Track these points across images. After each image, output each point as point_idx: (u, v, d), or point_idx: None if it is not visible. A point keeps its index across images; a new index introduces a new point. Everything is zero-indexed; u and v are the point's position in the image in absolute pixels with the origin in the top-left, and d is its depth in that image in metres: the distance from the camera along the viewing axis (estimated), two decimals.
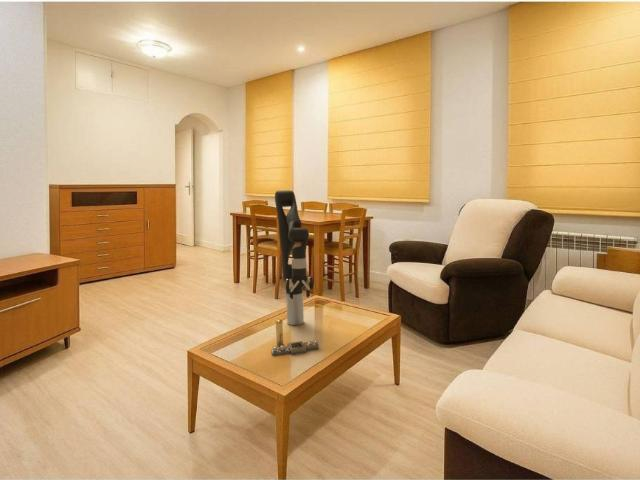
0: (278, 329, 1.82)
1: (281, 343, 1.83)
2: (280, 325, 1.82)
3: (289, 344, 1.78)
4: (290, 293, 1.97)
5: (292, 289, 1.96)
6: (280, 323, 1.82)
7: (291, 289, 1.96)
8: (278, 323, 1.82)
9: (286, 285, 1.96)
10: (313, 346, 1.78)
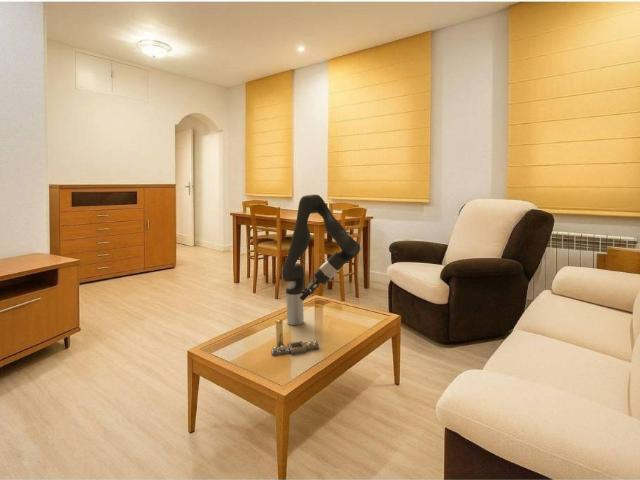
0: (278, 329, 1.82)
1: (281, 343, 1.83)
2: (280, 325, 1.82)
3: (289, 344, 1.78)
4: (306, 296, 1.75)
5: (310, 293, 1.76)
6: (280, 323, 1.82)
7: (310, 293, 1.75)
8: (278, 323, 1.82)
9: (311, 290, 1.73)
10: (313, 346, 1.78)
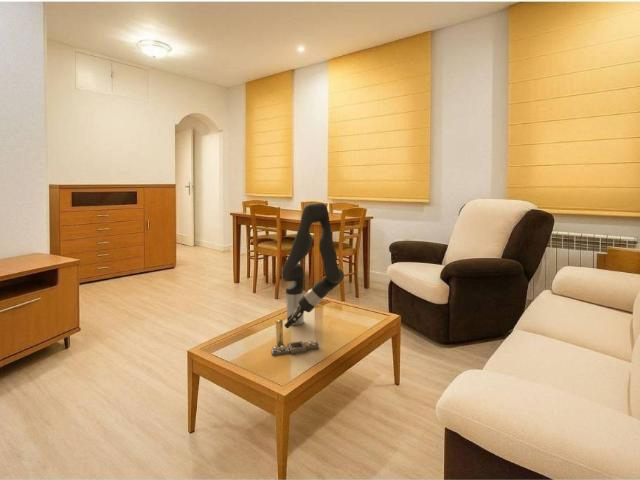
0: (278, 329, 1.82)
1: (281, 343, 1.83)
2: (280, 325, 1.82)
3: (289, 344, 1.78)
4: (291, 324, 1.77)
5: (295, 321, 1.78)
6: (280, 323, 1.82)
7: (295, 321, 1.78)
8: (278, 323, 1.82)
9: (296, 318, 1.75)
10: (313, 346, 1.78)
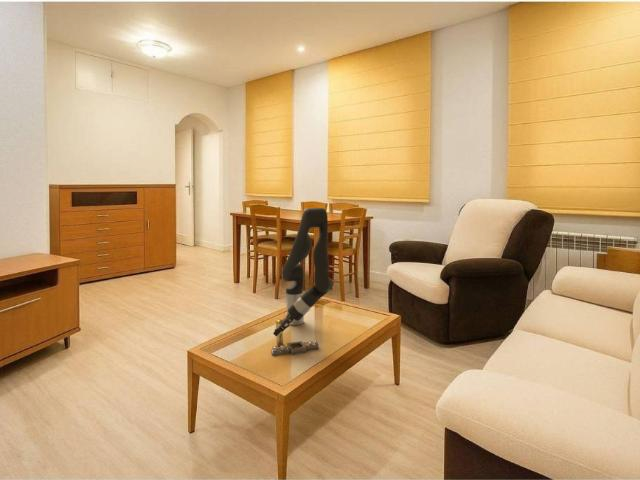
0: None
1: (281, 343, 1.83)
2: None
3: (289, 344, 1.78)
4: (279, 332, 1.81)
5: None
6: (280, 323, 1.82)
7: None
8: (278, 323, 1.81)
9: (283, 328, 1.77)
10: (313, 346, 1.78)
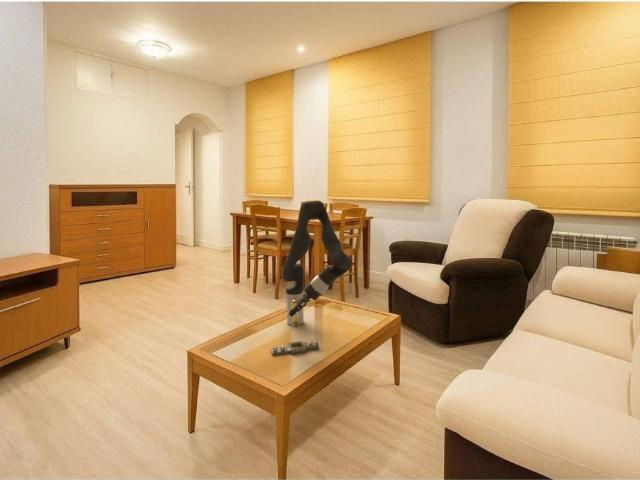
0: None
1: (297, 324, 1.75)
2: None
3: (289, 344, 1.78)
4: (295, 312, 1.72)
5: (300, 309, 1.73)
6: (296, 303, 1.73)
7: (299, 309, 1.73)
8: (294, 303, 1.73)
9: (299, 307, 1.69)
10: (313, 346, 1.78)
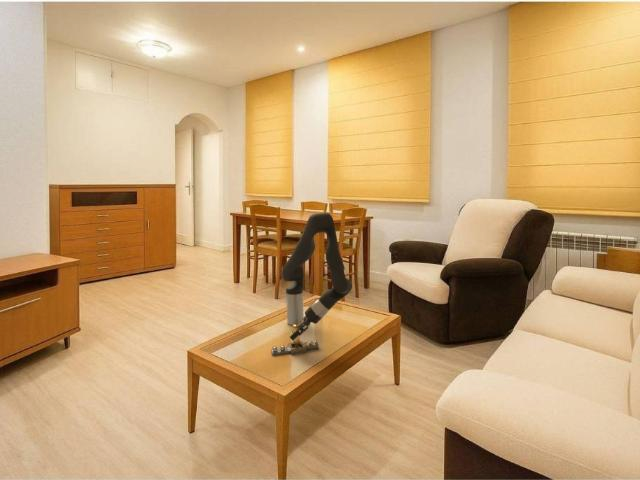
0: None
1: None
2: None
3: (289, 344, 1.78)
4: (296, 336, 1.72)
5: (301, 332, 1.73)
6: (297, 328, 1.75)
7: (300, 333, 1.73)
8: (295, 328, 1.75)
9: (301, 331, 1.70)
10: (313, 346, 1.78)
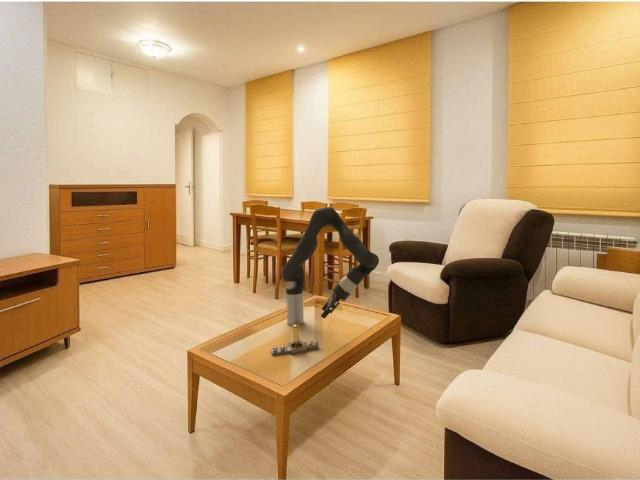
0: (295, 334, 1.75)
1: None
2: (297, 330, 1.75)
3: (289, 344, 1.78)
4: (327, 314, 1.71)
5: (331, 310, 1.72)
6: (297, 328, 1.75)
7: None
8: (295, 328, 1.75)
9: (333, 308, 1.68)
10: (313, 346, 1.78)
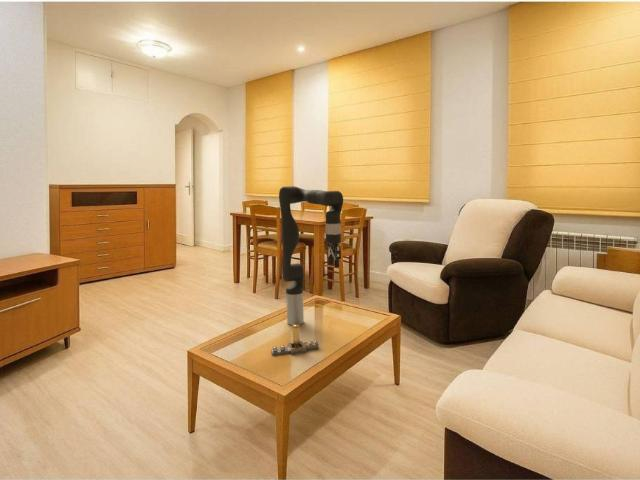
0: (295, 334, 1.75)
1: None
2: (297, 330, 1.75)
3: (289, 344, 1.78)
4: (338, 261, 1.83)
5: None
6: (297, 328, 1.75)
7: None
8: (295, 328, 1.75)
9: (338, 253, 1.80)
10: (313, 346, 1.78)
